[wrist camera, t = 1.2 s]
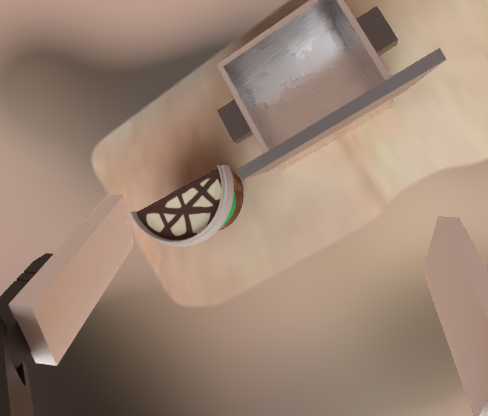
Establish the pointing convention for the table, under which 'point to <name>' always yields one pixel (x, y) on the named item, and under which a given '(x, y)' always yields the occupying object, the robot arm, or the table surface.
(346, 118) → the pot lid
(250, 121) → the rectangular cooking pot
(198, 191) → the food container
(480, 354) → the robot arm
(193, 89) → the table surface
